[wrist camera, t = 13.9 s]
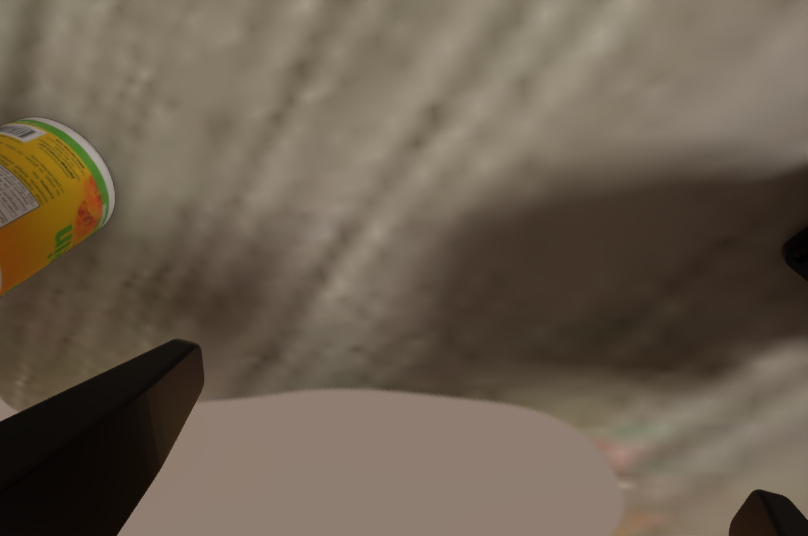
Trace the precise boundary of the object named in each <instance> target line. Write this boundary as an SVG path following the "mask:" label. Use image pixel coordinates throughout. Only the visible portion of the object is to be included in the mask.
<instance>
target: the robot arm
mask: <svg viewBox="0 0 808 536" xmlns="http://www.w3.org/2000/svg"><path fill="white" fill-rule="evenodd" d="M801 249H807V252H806V253H805V255H802V256H800V257H795V256H794V254H795V253H796V252H797V251H799V250H801ZM782 256H783V258H784V260H785V261H786V263H787V264H788V265H789V266H790V267H791V268H792V269H793V270H795V271H796V272H797V273H798V274H799V275H801V276H802V277H803V278H804V279H805V280H807V281H808V227H807V228H806V229H804V230H803V231H801V232H800V233H799V234H797V235H796V236H794V237H793V238H792V239H790V240H789V241H788V242H787V243H786V244H785V245H784V246H783V248H782ZM203 385H204V369H203V360H202V351H201V347H200V346H199V344H197V343H194V342H190V341H186V340H183V339H174V340H171V341H169V342H167V343H165V344H163V345H160V346H158V347H156V348H154V349H152V350H150V351H148V352H146V353H144V354H141V355H139V356H137V357H135V358H133V359H131V360H129V361H127V362H125V363H122V364H120V365H118V366H116V367H114V368H112V369H110V370H108V371H106V372H103V373H101V374H99V375H97V376H95V377H93V378H91V379H89V380H87V381H84V382H82V383H80V384H78V385H76V386H74V387H72V388H70V389H68V390H66V391H63V392H61V393H59V394H57V395H55V396H53V397H51V398H49V399H47V400H44V401H42V402H40V403H38V404H36V405H34V406H32V407H30V408H28V409H25V410H23V411H21V412H19V413H17V414H15V415H13V416H11V417H9V418H7V419H4V420H3V421H1V422H0V536H117V535H118V533H119V532H120V530H121V528H122V527H123V526H124V524H125V523H126V521H127V520H128V518H129V517H130V515H131V513H132V512H133V510H134V509H135V508H136V506H137V505H138V503H139V501H140V500H141V498H142V497H143V495H144V494H145V492H146V491H147V489H148V488H149V486H150V485H151V483H152V482H153V480H154V479H155V477H156V476H157V474H158V472H159V471H160V469H161V468H162V466H163V464H164V462H165V460H166V459H167V457H168V455H169V453H170V451H171V449H172V447H173V445H174V443H175V441H176V439H177V437H178V436H179V434H180V432H181V430H182V428H183V426H184V424H185V422H186V420H187V418H188V416H189V414H190V412H191V411H192V409H193V407H194V405H195V403H196V401H197V399H198V397H199V395H200V393H201V391H202V388H203ZM729 536H808V520H807V519H806V518H805V517H804V515H803V514H802V513H801V512H800V511H799V510H798V509H797V507H796V506H795V505H794V504H793V503H792V502H791V501H790V500H789V499H788V498H787V497H785V496H783V495H780V494H776V493H772V492H768V491H765V490H761V489H757V490H754V491H753V492H752V493H751V494H750V495H749V496H748V498H747V499H746V501H745V502H744V503H743V505H742V506H741V508H740V509H739V511H738V512H737V513H736V515H735V516H734V518H733V519H732V521H731V524H730V528H729Z"/></svg>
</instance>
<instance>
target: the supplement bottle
mask: <svg viewBox="0 0 808 536" xmlns="http://www.w3.org/2000/svg"><path fill="white" fill-rule="evenodd" d="M114 204H115V191H114V186H113V182H112V179H111V176H110V173H109V171H108V168H107V167H106V165H105V163H104V161H103V160H102V158H101V157H100V155H99V154H98V153H97V152H96V150H95V149H94V148H93V147H92V146H91V145H90V144H89V143H88V142H87V141H86V140H85V139H84V138H83V137H82V136H80V135H79V134H78V133H76V132H75V131H73V130H72V129H70V128H69V127H67V126H65V125H63V124H61V123H58V122H56V121H53V120H50V119H46V118H40V117H31V118H24V119H20V120H17V121H14V122H11V123H8V124H5V125H2V126H0V297H2V296H3V295H5V294H6V293H7V292H9V291H10V290H12V289H13V288H15V287H16V286H18V285H19V284H20V283H22V282H23V281H25V280H26V279H28V278H29V277H31V276H32V275H33V274H35V273H36V272H38V271H39V270H41V269H42V268H44V267H45V266H46V265H48V264H49V263H51V262H52V261H54V260H55V259H57V258H58V257H60V256H61V255H63V254H64V253H66V252H67V251H68V250H70V249H71V248H73V247H74V246H76V245H77V244H79V243H80V242H82V241H83V240H84V239H86V238H88V237H89V236H91V235H92V234H93V233H95V232H96V231H97V230H99V229H100V228H101V227H103V226H104V225H105V224H106V223H107V221H108V220H109V219H110V217H111V215H112V212H113V209H114Z"/></svg>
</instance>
